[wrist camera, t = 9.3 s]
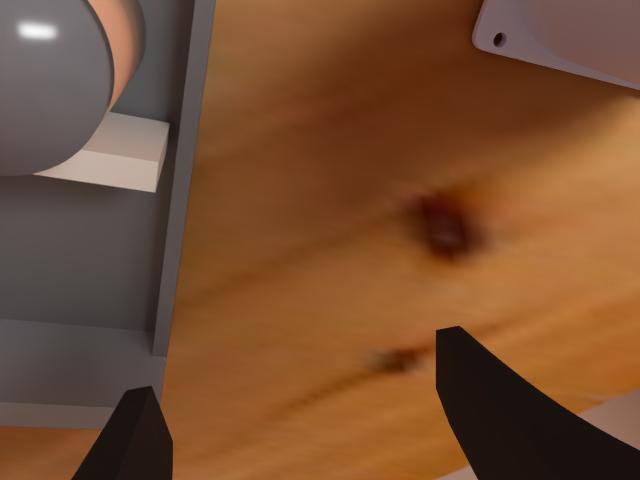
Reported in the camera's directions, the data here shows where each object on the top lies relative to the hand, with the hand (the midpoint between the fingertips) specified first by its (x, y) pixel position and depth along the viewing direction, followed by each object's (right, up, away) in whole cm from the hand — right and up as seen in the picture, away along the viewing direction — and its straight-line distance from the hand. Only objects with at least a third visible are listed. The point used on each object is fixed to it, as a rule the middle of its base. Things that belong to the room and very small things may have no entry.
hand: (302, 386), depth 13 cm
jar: (-8, +11, +4) cm, 14 cm away
